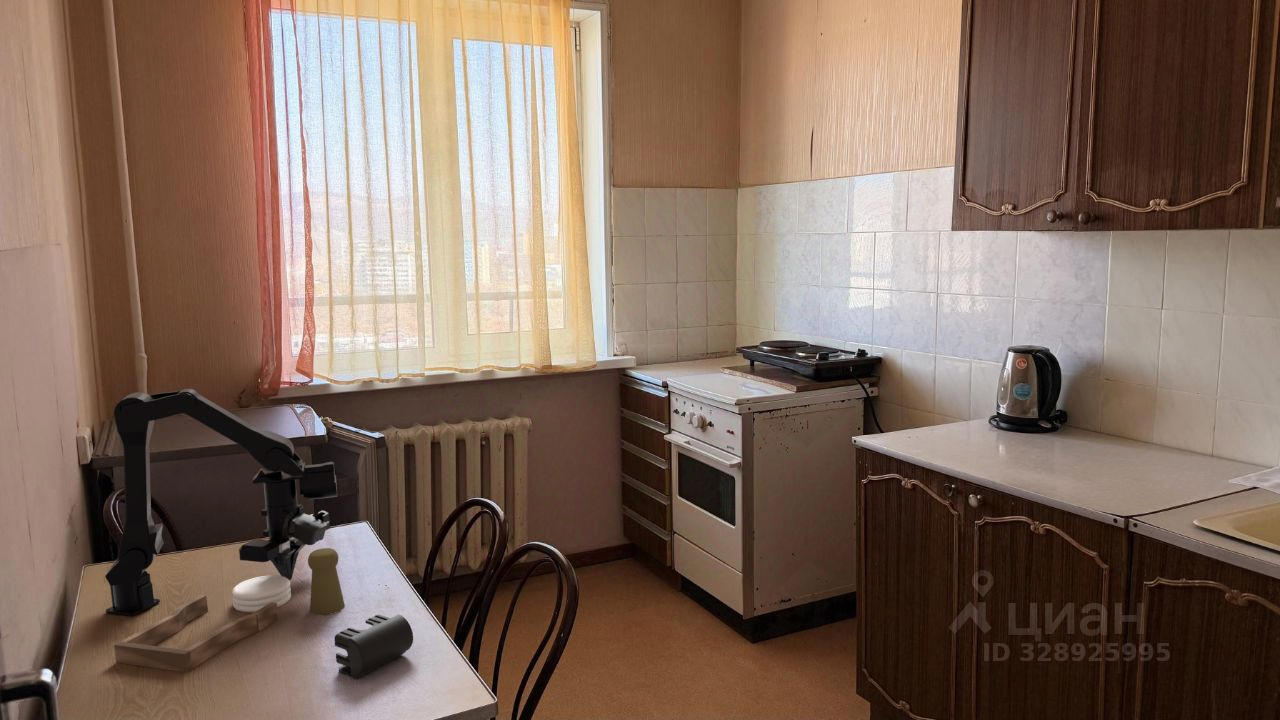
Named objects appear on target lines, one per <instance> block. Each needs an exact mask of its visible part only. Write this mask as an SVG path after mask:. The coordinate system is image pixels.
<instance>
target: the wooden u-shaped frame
mask: <svg viewBox="0 0 1280 720" xmlns="http://www.w3.org/2000/svg"><path fill="white" fill-rule="evenodd" d="M278 610H279V609H278V607H277V603H273V602H271V603H269V604H268V605H266V606H264V607H263V608H261V609H259V610H258V611H256V612H252V613H251V614H248V615H245V616H243V617H239V618H238V619H234V620H232V621H230V622H228V623H227V624H225V625H224V626H221V627H219V628H218V629H217V630H215V631H213V632H211V633H210V634H209V635H207V636H205V637H203V638H202V639H200V640H198V641H196V642H195V643H193V644H192V645H190V646H188V647H187V648H185V649H181V648H172V647H165V646H164V647H163V646H158V644H159V643H160V642H162V641H164V640H166V639H168V638H170V637H172V636H174V635H175V634H176V633H178V632H180V631H181V630H182V629H183V628H184V627H185V626H186V624H187V623H189V622H191V621H192V620H194V619H197V618H199V617H200V616H202V615H203V614H205V613H207V612H208V611H209V607H208V597H207V595H206V594H200V595H198V596H196V597H193V598H192V599H190V600H189V601H186V602H185V603H183V604H181V605H179V606H178V607H177V608H176V609H175V610H174V611H173V612H172V613H171V614H169V615H167V616H166V617H163V618H162V619H159V620H158V621H156V622H154V623H152V624H150V625H148V626H147V627H144V628H143V629H141V630H139V631H137V632H135V633H134V634H132V635H130V636H129V637H127V638H124V639H123V640H121V641H119V642H117V643H114V644H113V647H114V649H113V650H114V656H115V663H116V664H117V663H118V664H125V665H130V666H131V665H132V666H138V667H139V666H140V667H146V668H153V669H161V670H168V671H175V672H180V673H181V672H183V673H188V672H189V671H191V670H193V669H194V668H196V667H197V666H198V665H200V664H202V663H204V662H206V661H207V660H208V659H210V658H212V657H213V656H215V655H217V654H218V653H220V652H221V651H223V650H225V649H226V648H228V647H229V646H230V645H232V644H234V643H235V642H238V640H240V639H243V638H245V637H249V636H251V635H253V634H256V633H258V632H260V631H262V630H263V629H265V628H266V627H268V626H270V625H271V624H273V623H274V622H276V621H277V620H279V611H278Z"/></svg>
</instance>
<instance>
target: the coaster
mask: <svg viewBox="0 0 1280 720" xmlns="http://www.w3.org/2000/svg"><path fill="white" fill-rule="evenodd" d="M291 591H292V588H291V580H289V579H287V578H286V577H283V576H281V575H276V574H274V575H272V574H271V575H262V576H257V577H253V578H250V579H249V578H248V579H246V580H243V581H241V582H239V583H238V584H236V586H234V587H233V588H232V591H231V592H232V593H231V594H232V596H233V597H232V601H233V603H232V605H233V608H234V609H235V610H236V611H239V612H242V613H254V612H256V611H258V610H259V609H261V608H263V607H264V606H266V605H268V604H269V603H271V602H273V603H277V608H279V607H281V606H283V605H285V604H287V602H289V601H290V599H291V598H292V592H291Z"/></svg>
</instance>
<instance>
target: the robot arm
mask: <svg viewBox="0 0 1280 720" xmlns="http://www.w3.org/2000/svg"><path fill="white" fill-rule="evenodd" d="M180 414H181V415H182V414H185V415H187V416H189V417H190V418H192V419H194V420H196V421H197V422H199V423H201V424H203V425H204V426H206V427H208V428H209V429H211V430H212V431H215V432H216V433H217V434H220V435H221V436H223V437H225V438H226V439H229V440H230V441H232V442H234V443H235V444H237V445H239V446H240V447H242V448H243V450H245V451H246V452H247V454H248V455H250V456H251V458H252V459H254V460H255V461H256V462H257V463H258V464H260V465H261V466H262V467H263V468H262V467H261V468H260V469H259V471H258V473H256V475H254V476H253V478H252V481H251V483H252V484H253V485H255V484H258V485H259V484H263V490H264V491H263V492H264V493H263V494H264V501H265V502H264V503H265V508H263V509H260V515H261V516H263V517H265V518H266V527H267V529H264V530H262V535H263V537H268V539H258V538H254V539H252V540H249V541H247V542H246V543H244V544H242V545H241V546H240V547H239V548H238V558H239V561H245V562H246V561H247V562H253V563H254V562H255V563H266V562H269V561H270V562H271V563H272V564H273V566H274V567H275V568H276V570H277V571H278V574H280V575H279V576H283V577H286V578H287V579H289V581H291V580H292V579H293V576H294V571H295V567H296V565H297V559H298V556H299V553H300V551H302V549H303V548H304V547H305V546H306V545H307V546H313V545H315V544H316V543H317V542H319V541H323V540H324V537H325V535H326V531H328V530H330V529H331V525H330V523H331V520H330V514H329V512H328V511H325V510H320V511H318V512H317V513H316V514H315V515H314V513H311V514H306V513H305V507H304V506H303V504H298V492H297V491H298V490H297V482H296V481H297V480H298V483H299V484H298V485H299V492H300V496H303V498H306V500H307V501H311V500H320V499H321V500H322V499H328V498H335V497H336V498H337V497H338V489H337V488H338V487H337V486H338V485H337V475H336V474H335V471H336V470H335V462H333V461H328V462H323V463H318V464H308V465H306V461H304V460H303V459H302V458H301V457H300V456H299V455H298V454H297V453H296V451H295V448H294V444H293V442H292V441H291V440H290V438H288V437H286V436H283V435H281V434H278V433H276V432H273V431H271V430H267V429H262V428H259V427H257V426H255V425H254V426H253V425H252V424H251V423H248V422H247V421H245V420H244V419H242V418H240V417H239V416H237V415H235V414H233V413H231V412H230V411H228V410H226V409H225V408H223V407H221V406H219V405H218V404H216V403H214V402H213V401H211V400H209V399H208V398H206V397H204V396H203V395H201V394H199V392H198V391H197V390H195V389H193V388H185V389H182V390H177V391H169V392H168V391H166V392H160V393H153V394H147V393H146V392H141V391H137V392H132V393H130V394H128V395H126V397H124V398H122V399H121V400H120V401H119V402H118V403H117V404H116V405H115V407H114V409H113V419H114V422H115V423H114V424H115V427H116V432H117V434H118V438H119V439H120V441H121V444H122V447H123V448H122V449H123V472H124V473H123V474H124V475H123V476H124V477H123V478H124V479H123V480H124V512H125V513H124V516H125V522H124V526H123V530H122V534H121V537H120V543H119V548H118V554H117V558H116V559H115V560H114V562H113V563H112V565H111V567H110V568H109V569H108V571H107V572H106V574H105V575H104V577H105V579H106V581H107V583H108V584H109V586H110V595H111V604H112V606H111V607H108V608H106V609H105V613H106V614H114V615H122V616H128V617H129V616H130V617H131V616H132V617H133V616H135V615H138V614H139V613H141V612H144V611H145V610H147V609H149V608H151V607H153V606H155V605H157V604H159V603H160V602H161V600H160V598H155V596H154V589H153V582H152V581H151V574H150V572H149V573H148V571H147V569H148V568H149V567H150V566H151V565H152V564H153V561H154V560H155V559H156V556H158V554H159V553H160V551H161V549H162V547H163V545H164V543H165V542H164V540H163V537H162V532H163V527H164V525H163V522H162V523H158V524H157V523H156V524H155V522H154V519H153V518H152V507H151V506H152V504H151V503H152V502H151V499H152V497H151V462H150V459H151V457H150V456H151V454H150V441H151V436H152V434H153V429H154V426H155V421H157V420H161V419H165V418H168V417H173V416H176V415H180ZM264 468H265V469H266V470H265V469H264Z"/></svg>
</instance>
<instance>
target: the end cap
mask: <svg viewBox="0 0 1280 720" xmlns="http://www.w3.org/2000/svg"><path fill="white" fill-rule="evenodd" d="M365 624H367V625H370V626H372V627H370V628H369V627H368V628H367V629H362V630H361V629H355V628H354V627H347V629H344V630H341V631H340V632H338V633H336V634H335V635H334V646H335V647H336V648H340V649H342V650H345V652H346V653H347V655H345V654H342V653H340V652H336V653H335V661H336V663H337V664H340V665H341V666H339V667H338V673H340V674H342V675H344V676H347V677H350V678H352V679H359V678H361V677H363V676H364V675H367V674H368V673H370V672H372V671H373V670H375V669H378V668H380V667H383V666H384V665H385V664H388V663H389V662H391V661H393V660H395V659H396V658H399V657H400V656H402V655H403V654H405V653H406V652H407V651H409V650H411V647H412V645H413V643H414V634H413V633H414V632H413V629H412V627H411V624H410V623H409V621H408V620H407V619H406V618H405V616H403V615H401V614H396V615H394V616H392V617H388V616H385V615H381V614H375V615H374V616H372V617H369V618H368V619H366V620H365Z"/></svg>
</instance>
